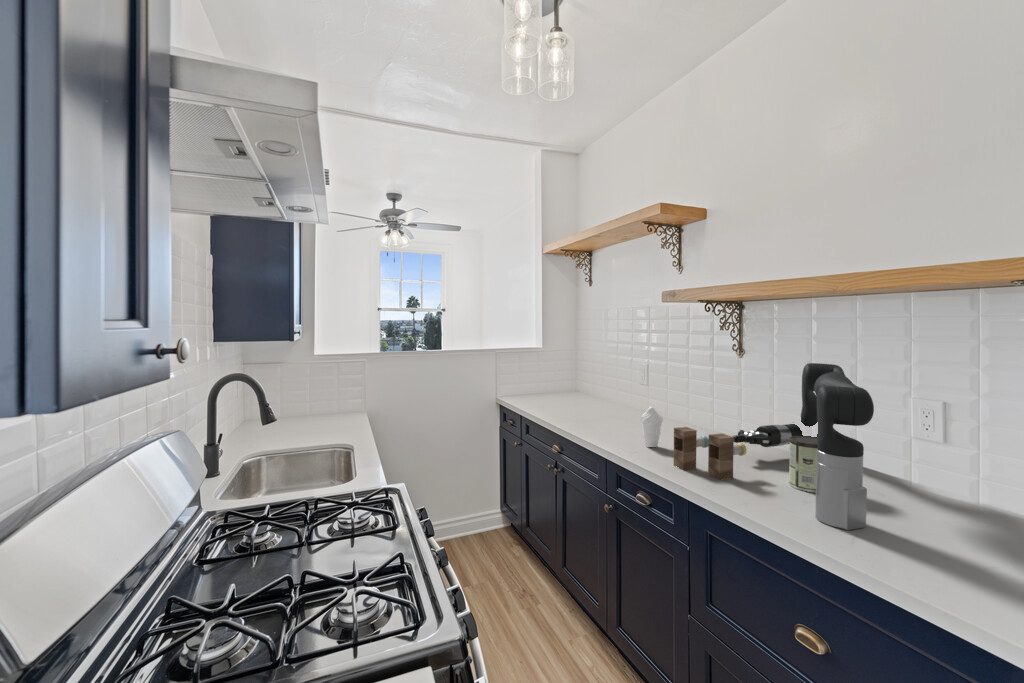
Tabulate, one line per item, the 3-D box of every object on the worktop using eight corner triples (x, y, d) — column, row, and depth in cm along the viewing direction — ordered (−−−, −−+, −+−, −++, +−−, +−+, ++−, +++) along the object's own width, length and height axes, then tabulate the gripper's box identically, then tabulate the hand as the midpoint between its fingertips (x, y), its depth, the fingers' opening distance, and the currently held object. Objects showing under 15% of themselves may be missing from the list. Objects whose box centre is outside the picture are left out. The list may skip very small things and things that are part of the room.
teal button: (709, 448, 153) (709, 437, 153) (691, 450, 151) (691, 439, 151) (701, 445, 156) (701, 434, 156) (684, 447, 154) (684, 436, 154)
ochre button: (746, 456, 144) (746, 444, 143) (728, 458, 142) (728, 446, 141) (737, 453, 147) (737, 441, 147) (719, 455, 145) (719, 443, 145)
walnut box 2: (733, 478, 142) (733, 437, 141) (719, 479, 140) (720, 438, 140) (721, 472, 147) (721, 433, 146) (708, 474, 145) (708, 434, 145)
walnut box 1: (696, 468, 151) (696, 430, 150) (683, 470, 149) (683, 431, 149) (686, 464, 156) (686, 426, 155) (673, 465, 154) (673, 427, 154)
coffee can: (819, 481, 138) (820, 436, 137) (836, 494, 128) (838, 445, 127) (782, 479, 140) (783, 434, 139) (796, 491, 130) (797, 443, 129)
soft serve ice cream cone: (644, 442, 183) (645, 403, 183) (665, 445, 178) (665, 405, 178) (637, 447, 177) (637, 406, 176) (658, 450, 172) (659, 409, 171)
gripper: (758, 421, 169) (720, 424, 164) (789, 429, 156) (748, 433, 151) (758, 441, 169) (719, 445, 164) (789, 450, 156) (748, 455, 151)
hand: (733, 439), depth 158 cm, fingers closed
